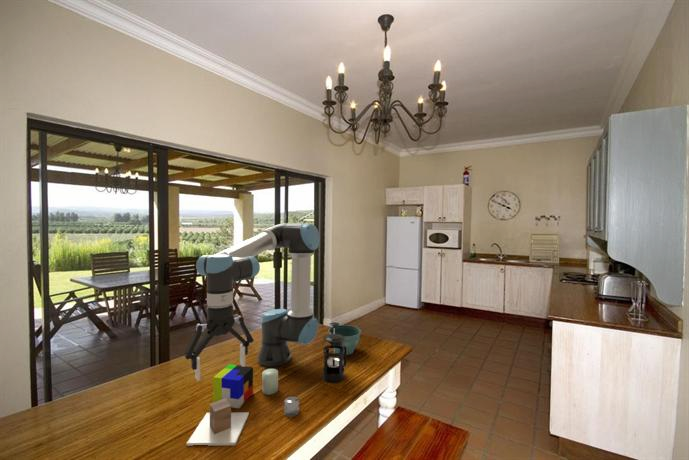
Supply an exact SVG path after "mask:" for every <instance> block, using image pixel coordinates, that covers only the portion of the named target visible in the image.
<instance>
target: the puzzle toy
mask: <svg viewBox="0 0 689 460" xmlns="http://www.w3.org/2000/svg"><path fill="white" fill-rule="evenodd" d="M212 381H213V382H212V383H213V384H212V387H213V389H212V398H213V399H212V403H214V402H216V401H219V400H222V399H225V398H226V399H227V401H228V402H229V403H230V405H231V409H232V408H234V409H240V408H241V407H242V405H243V404H244V403H246V401H247V400H248V399H249V398H250V396H252V394H254V367H253V366H247V365H245V367H242V366H241V365H237V364H232V363H231V364H228V365H226V366H225V367H224V368H223V369H222V370H220V371H219V372H218V373H216V375H214V376H213V377H212Z"/></svg>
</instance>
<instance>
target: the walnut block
mask: <svg viewBox="0 0 689 460" xmlns="http://www.w3.org/2000/svg"><path fill="white" fill-rule="evenodd" d="M209 413H210V427H211V429H212V431H213V433H214V434H217V433H219V432H221V431H224V430H226V429H229V428H231V413H232V407H231V405H230V403H229V402H228V401H227V399H226V398H225V399H222V400H219V401H216V402H214V403H213V402H212V403H209Z"/></svg>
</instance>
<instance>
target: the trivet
mask: <svg viewBox="0 0 689 460" xmlns="http://www.w3.org/2000/svg"><path fill="white" fill-rule="evenodd" d="M249 416H250V413H249V411H248V412H231V428H229V429H226V430H224V431H221V432H219V433H217V434H214V433H213V431H212V429H211V427H210V412H206V414H205V415H204V416H203V418H202V420H201V421H200V422H199V424H198V426H197V427H196V428H195V430H194V431H193V433H192V434H191V436H190V437H189V439H188V440H187V442H186V446H187V447H189V446H191V447H192V446H193V445H208V446H236V445H237V442H238V441H239V438H240V436H241V433H242V432H243V429H244V427H245V424H246V423H247V420H248V417H249Z"/></svg>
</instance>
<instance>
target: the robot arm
mask: <svg viewBox="0 0 689 460" xmlns="http://www.w3.org/2000/svg"><path fill="white" fill-rule="evenodd" d="M320 240H321V237H320V232H319V230H318V228H317V226H315V225H314V224H312V223H307V222H301V223H300V222H296V223H295V222H282V223H278V224H275V225H272V226H270V227H268V228H265V229H263V230H261V231H260V232H259V233H258V235H257V234H256V235H255V236H252V237H251V238H249V239H245V240H244V241H241V242H239V243H238V244H235V245H232V246H230V247H228V248H225V249H224V250H222V251H220V252H217V253H214V254H205V255H204V254H203V255H201V256H199V258H198V259H197V260H196V263H195V268H196V272H197V273H198V274H199V275H201V276H204V277H206V305H207V307H206V318H207V320H206V323H202V324H201V323H196V324H195V331H194V333H193V334H192V337H191V339H190V341H189V343H188V346H187V348H186V349H185V352H184V354H183V357H184V358H185V359H186V360H189V359H190V361H191V363H190V364H191V365H190V366H191V369H192V370H193V371H194V376H195V380H196V381H197V382H199V381H201V359H200V357H199V356H200V354H201V353H202V352H203V350H205V348H206V347H207V346H208V344H209V343H210V342H211V340H213V338H214V337H219V336H222V335H228V333H229V332H230V333H231V334H232V335H233V336H234V337H235V338H236V339H237V340H238V341H239V342H240V344H239V364H240V366H242V367H245V366H246V355H248V354H249V353H248V352H249V351H248V350H249V349H248V348H249V347H250V343H251V344H252V343H253V342H254V338H253V337H252V335H251V333H250V331H249V330H248V328H247V326H246V324H245V320H244V317H243V316H242V315H241V314H238V315H237V316H235V317H234V304H233V302H234V283H238V282H240V281H245V280H249V279H252V278H254V277H256V276H257V275H258V274H259V272H260V269H261V265H260V262H259V261H258V259H257V258H256V256H259V255H260V254H262V253H264V252H266V251H272V250H274V249H288V254H289V255H290V256H291V275H290V276H291V277H290V278H291V281H290V282H291V283H290V310H289V311H288V309H286V308H277V309H276V308H274V309H271V310H268V311H265V312H264V313H263V314H262V317H261V346H260V349H259V352H258V355H257V363H258V364H259V365H261V366H264V367H271V368H272V367H279V366H283V365H286V364H287V363H289V362H290V361H291V359H292V358H291V357H292V355H291V350H290V347H289V344H288V342H290V343H295V344H299V345H309V344H310V343H312V342H313V340H314V339H315V337H316V335H317V332H318V327H319V322H318V319H317V318H316V317H314V312H313V310H311V274H312V273H311V271H312V270H311V268H312V267H311V266H312V263H311V262H312V256H313V255H314V254H315V250H317V249H318V248H319V246H320ZM235 323H236V324H238V326H239V327H240V329H241V331H242V333H243V335H244V337H245V338H246V339H245V338H243V337H242V336H241V335H240V334H239V332H237V331H236V330H235V329H234V328H233V326H234V324H235ZM205 329H207V331H206V332H205V334H204V336H203V337H202V338H201V336H202V332H204V331H205ZM200 338H201V340H200ZM199 340H200V342H199ZM198 342H199V343H198Z"/></svg>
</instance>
